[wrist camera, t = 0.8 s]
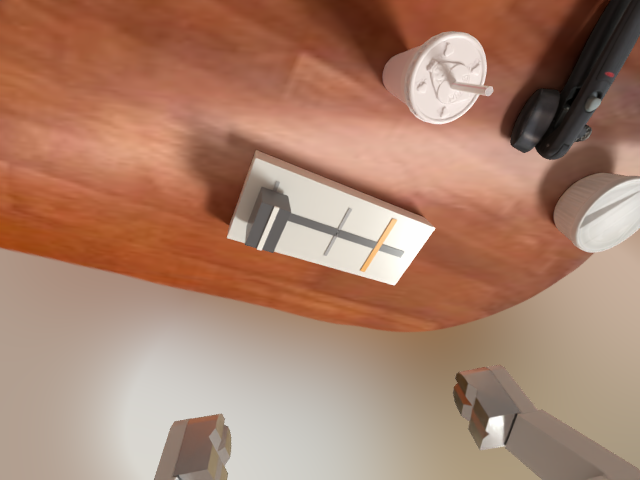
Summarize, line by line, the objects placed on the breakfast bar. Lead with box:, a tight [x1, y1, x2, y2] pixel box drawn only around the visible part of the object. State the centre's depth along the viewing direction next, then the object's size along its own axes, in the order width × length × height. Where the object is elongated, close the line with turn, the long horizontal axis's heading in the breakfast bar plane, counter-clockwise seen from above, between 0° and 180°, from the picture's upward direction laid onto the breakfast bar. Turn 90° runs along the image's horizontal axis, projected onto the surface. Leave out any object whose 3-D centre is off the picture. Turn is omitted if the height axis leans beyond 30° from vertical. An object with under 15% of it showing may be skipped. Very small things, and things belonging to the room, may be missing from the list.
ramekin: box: [554, 173, 640, 252], centre depth 42 cm, size 11×11×5 cm
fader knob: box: [245, 187, 291, 253], centre depth 31 cm, size 3×5×4 cm, turn 154°
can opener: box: [510, 0, 640, 160], centre depth 32 cm, size 18×7×6 cm, turn 159°
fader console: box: [227, 150, 435, 285], centre depth 38 cm, size 24×10×3 cm, turn 64°
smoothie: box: [382, 31, 493, 124], centre depth 25 cm, size 6×6×14 cm
